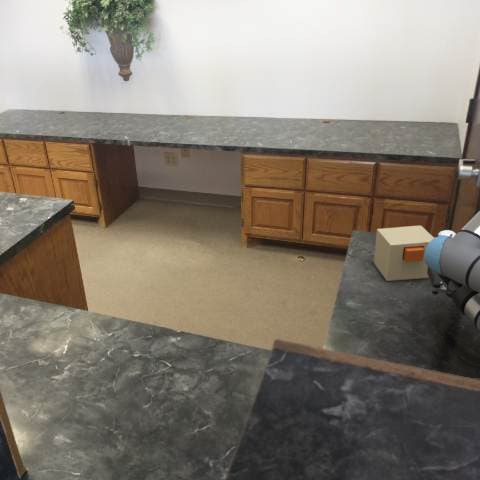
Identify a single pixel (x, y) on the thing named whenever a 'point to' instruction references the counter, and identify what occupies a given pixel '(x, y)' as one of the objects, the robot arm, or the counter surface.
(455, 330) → the counter surface
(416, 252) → the orange block
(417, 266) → the beige box with handle
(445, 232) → the milkshake
